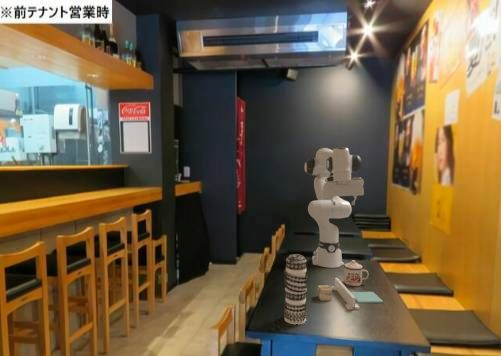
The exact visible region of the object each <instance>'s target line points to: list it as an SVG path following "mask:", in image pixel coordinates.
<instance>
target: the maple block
mask: <svg viewBox="0 0 501 356" xmlns="http://www.w3.org/2000/svg"><path fill="white" fill-rule="evenodd" d="M317 297H318V299H319V300H320V301H323V302H324V301H329V302H330V301H333V300H332V299H333V298H332V297H333V290H332V289H331V286H330V285H327V284H326V285H317Z"/></svg>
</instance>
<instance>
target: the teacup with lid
mask: <svg viewBox="0 0 501 356" xmlns="http://www.w3.org/2000/svg"><path fill="white" fill-rule="evenodd" d="M343 267H344V270H343V271H344V272H343V273H344V274H343V275H344V277H343V282H344V283H343V284H344V285H345V284H346V285H348V286H351V287H360V286H361V285H362V284H363V280H367V279H368V278H369V275H370V274H369V271H368V270H367V269H364V268H363V265H362V264H359V262H356V260H354V259H353V260H351V261H350V262H347V263H344V265H343ZM363 272H365V273H366V276H365V277H363Z"/></svg>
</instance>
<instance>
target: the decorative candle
mask: <svg viewBox="0 0 501 356" xmlns="http://www.w3.org/2000/svg"><path fill="white" fill-rule="evenodd" d="M307 261H308V259H306V258H305V256H304V255H302V254H299V253H293V254H289V255H288V257H286V259H285V262H286V264H285V269H283V273H284V275H283V276H284V279H283V280H284V291H285V300H284V301H283V302H284V305H283V306H284V311H283V312H284V314H283V316H284V321H285V323H287V324H291V325H296V324H298V325H303V324H305V323H306V322H307V301H306V300H307V297H306V292H307V288H308V285H307V284H308V276H307V275H308V273H309V271H308V270H307ZM305 321H306V322H305Z"/></svg>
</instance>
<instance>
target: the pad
mask: <svg viewBox="0 0 501 356" xmlns="http://www.w3.org/2000/svg"><path fill="white" fill-rule="evenodd" d="M350 292H351V293H352V295H353V296H354V297H355V302H357V304H374V303H375V304H377V303H378V304H383V303H384V301H383V299H381V298H380V297H379V296H378V295H377V294H376V293H375V292H374V291H350Z"/></svg>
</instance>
